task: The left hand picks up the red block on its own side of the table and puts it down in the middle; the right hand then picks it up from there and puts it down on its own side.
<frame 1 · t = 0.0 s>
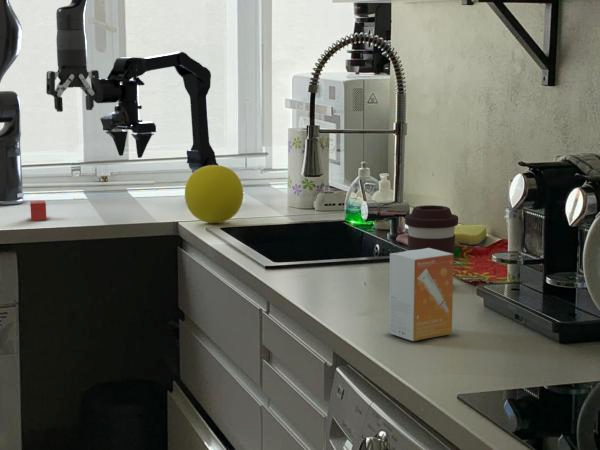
left hand: (74, 110, 273), 29 cm above the worktop, tool pointing down, fingers open, 8 cm apart
right hand: (130, 156, 300), 15 cm above the worktop, tool pointing down, fingers open, 9 cm apart
small box: (420, 335, 165), on the worktop
red block: (38, 219, 282), on the worktop
coffee cup: (430, 287, 198), on the worktop
toy: (214, 223, 273), on the worktop
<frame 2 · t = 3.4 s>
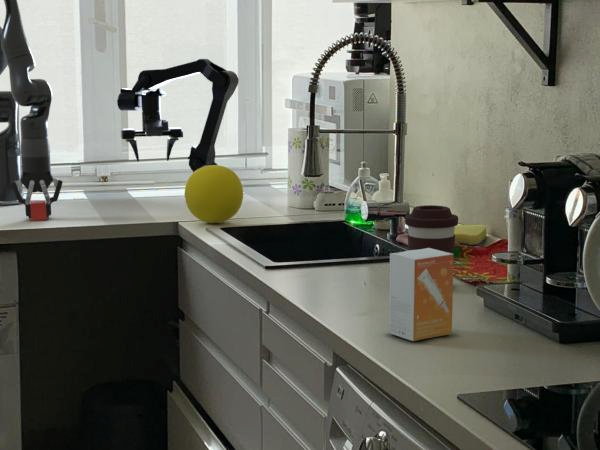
left hand: (38, 217, 282), 0 cm above the worktop, tool pointing down, fingers closed on red block, 4 cm apart
right hand: (152, 161, 326), 11 cm above the worktop, tool pointing down, fingers open, 9 cm apart
red block: (38, 219, 282), on the worktop, touching left hand
everything else where it was.
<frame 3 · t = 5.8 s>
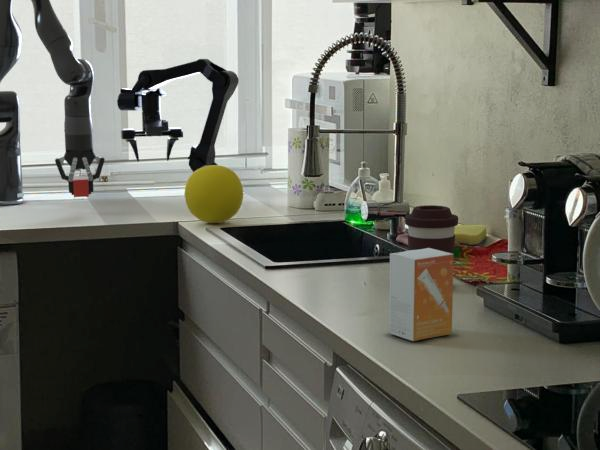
left hand: (81, 194, 290), 6 cm above the worktop, tool pointing down, fingers closed on red block, 4 cm apart
right hand: (152, 161, 326), 11 cm above the worktop, tool pointing down, fingers open, 9 cm apart
red block: (81, 195, 290), point 5 cm above the worktop, touching left hand
everything else where it was.
when the left hand's fingers open (2 cm above the worktop, at t = 8.6 s): red block drops 1 cm, on the worktop.
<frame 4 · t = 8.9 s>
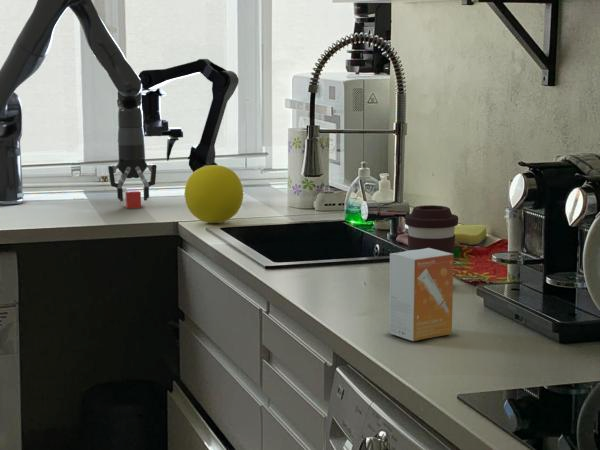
left hand: (133, 200, 302), 2 cm above the worktop, tool pointing down, fingers open, 6 cm apart
right hand: (152, 161, 326), 11 cm above the worktop, tool pointing down, fingers open, 9 cm apart
red block: (133, 207, 302), on the worktop
everything else where it was.
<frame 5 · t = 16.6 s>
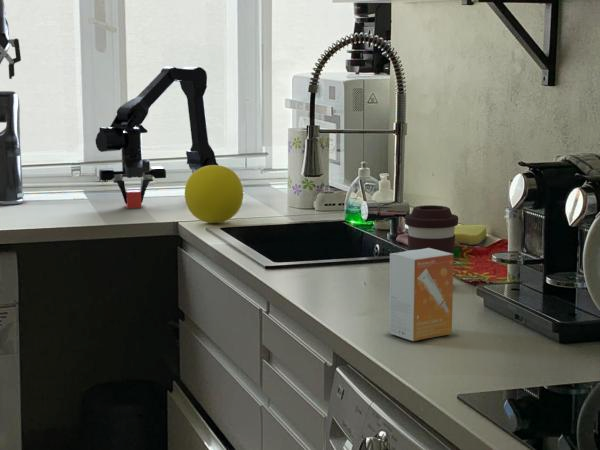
right hand: (133, 203, 302), 1 cm above the worktop, tool pointing down, fingers closed on red block, 4 cm apart
red block: (133, 207, 302), on the worktop, touching right hand
everything else where it was.
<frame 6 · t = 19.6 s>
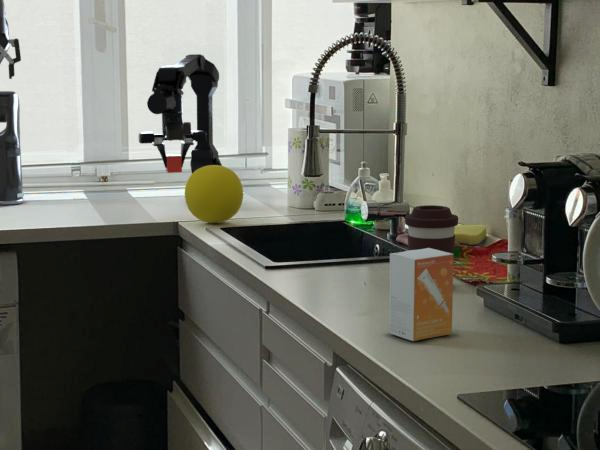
right hand: (173, 167, 295), 12 cm above the worktop, tool pointing down, fingers closed on red block, 4 cm apart
red block: (173, 171, 295), point 11 cm above the worktop, touching right hand
everything else where it was.
when the right hand's fingers open (2 cm above the worktop, at t = 23.0 s): red block drops 1 cm, on the worktop.
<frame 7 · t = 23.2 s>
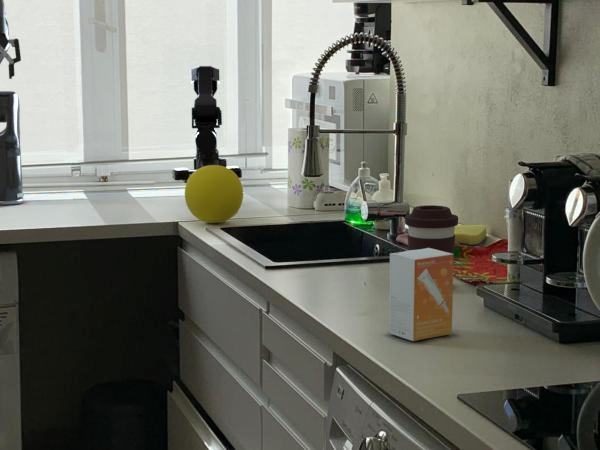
right hand: (207, 203, 292), 2 cm above the worktop, tool pointing down, fingers open, 6 cm apart
red block: (208, 211, 292), on the worktop
everything else where it was.
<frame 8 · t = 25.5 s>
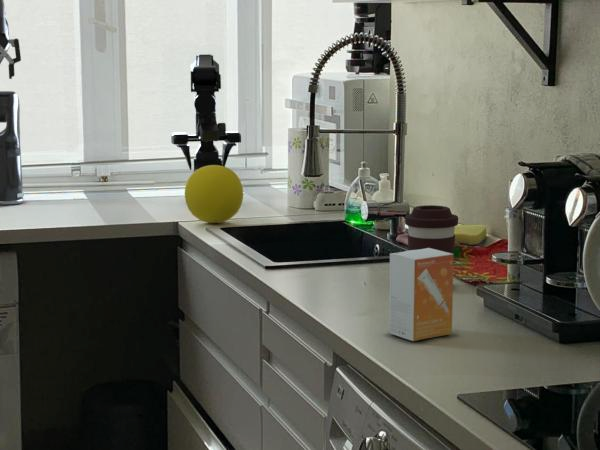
right hand: (206, 169, 290), 12 cm above the worktop, tool pointing down, fingers open, 9 cm apart
nothing on the worktop moved.
at the end: red block inside the target area (0.0 cm from its centre), on the worktop; red block tilted 0°; the two hands never held the red block at the same time; the left hand is holding nothing; the right hand is holding nothing; red block at rest at the end (0.0 cm/s) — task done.
